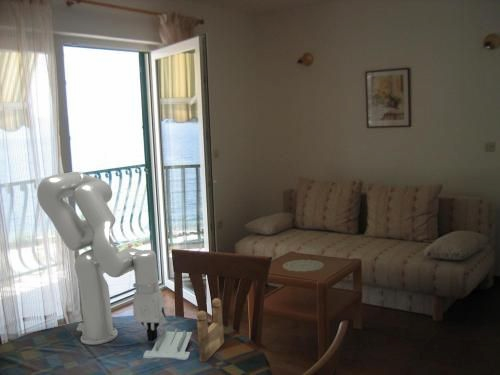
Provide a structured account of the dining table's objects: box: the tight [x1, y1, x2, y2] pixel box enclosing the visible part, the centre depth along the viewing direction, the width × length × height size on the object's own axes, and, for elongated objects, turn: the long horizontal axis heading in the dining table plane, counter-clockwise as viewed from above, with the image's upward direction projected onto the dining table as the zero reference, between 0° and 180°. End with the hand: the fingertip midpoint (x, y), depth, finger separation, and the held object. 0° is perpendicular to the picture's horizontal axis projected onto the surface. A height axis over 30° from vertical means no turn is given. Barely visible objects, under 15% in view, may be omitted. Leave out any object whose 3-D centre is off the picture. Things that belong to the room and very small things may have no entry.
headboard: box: [196, 297, 225, 363], centre depth 162 cm, size 3×14×16 cm, turn 159°
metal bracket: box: [142, 328, 193, 361], centre depth 166 cm, size 14×6×15 cm
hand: (152, 339), depth 170 cm, fingers closed
